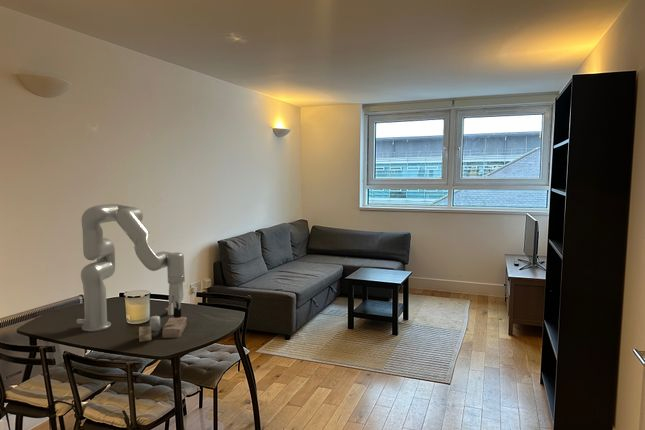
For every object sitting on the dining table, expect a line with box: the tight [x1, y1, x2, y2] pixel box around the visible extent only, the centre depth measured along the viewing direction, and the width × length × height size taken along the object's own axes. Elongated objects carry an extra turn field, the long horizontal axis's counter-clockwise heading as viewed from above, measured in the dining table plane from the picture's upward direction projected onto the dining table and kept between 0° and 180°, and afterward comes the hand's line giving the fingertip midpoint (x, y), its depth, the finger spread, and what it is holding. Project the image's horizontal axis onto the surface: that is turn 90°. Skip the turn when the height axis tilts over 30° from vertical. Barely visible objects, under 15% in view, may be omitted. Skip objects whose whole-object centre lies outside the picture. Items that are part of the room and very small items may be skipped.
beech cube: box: [138, 325, 152, 342], centre depth 201 cm, size 5×5×5 cm
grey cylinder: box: [149, 315, 161, 332], centre depth 213 cm, size 5×5×6 cm
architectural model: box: [164, 302, 174, 316], centre depth 237 cm, size 3×7×7 cm, turn 169°
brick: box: [161, 316, 188, 339], centre depth 211 cm, size 17×8×5 cm, turn 7°
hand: (177, 317), depth 210 cm, fingers closed
